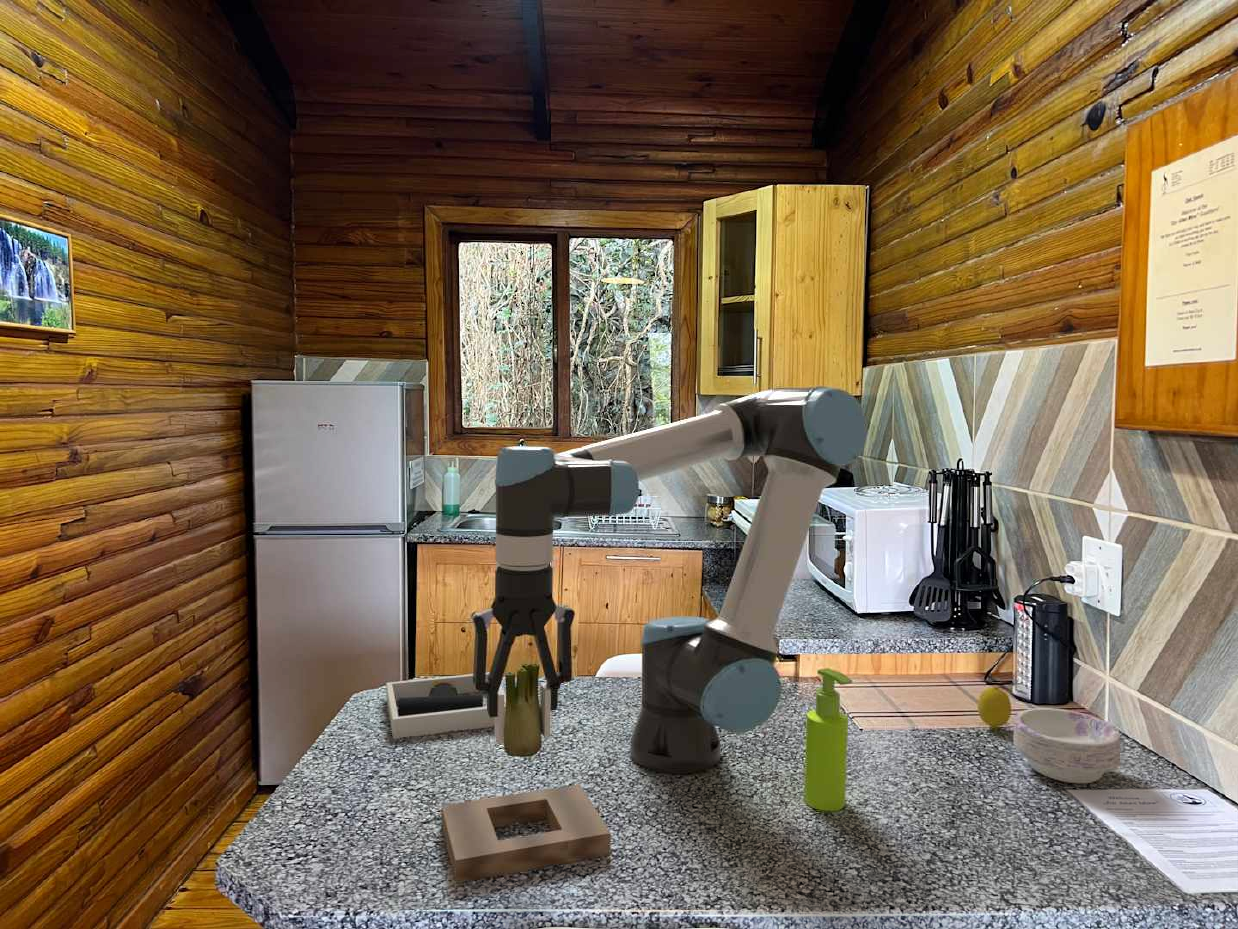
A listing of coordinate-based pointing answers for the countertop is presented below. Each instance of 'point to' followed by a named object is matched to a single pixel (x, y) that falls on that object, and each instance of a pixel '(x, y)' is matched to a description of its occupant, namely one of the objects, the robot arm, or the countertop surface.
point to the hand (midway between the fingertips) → (522, 736)
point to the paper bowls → (1067, 744)
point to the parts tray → (437, 720)
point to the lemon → (994, 707)
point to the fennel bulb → (522, 712)
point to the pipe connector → (439, 700)
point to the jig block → (486, 856)
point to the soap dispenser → (826, 747)
